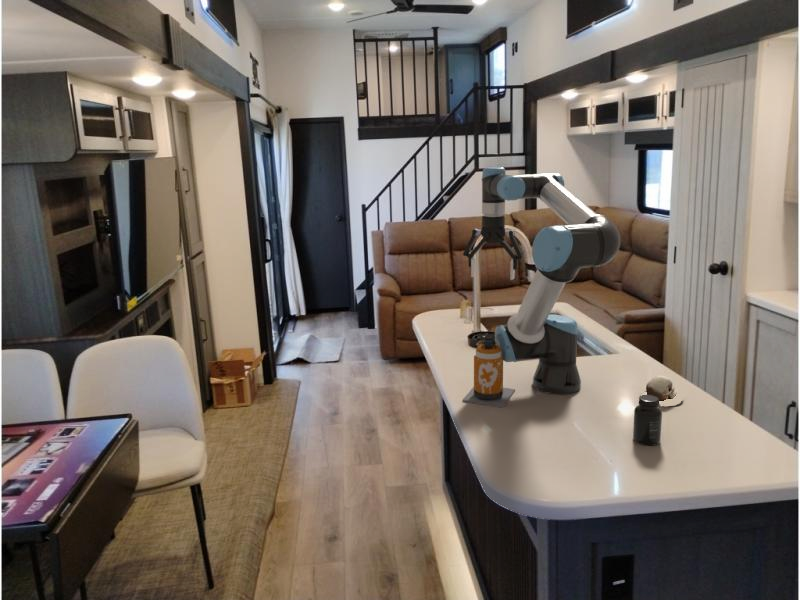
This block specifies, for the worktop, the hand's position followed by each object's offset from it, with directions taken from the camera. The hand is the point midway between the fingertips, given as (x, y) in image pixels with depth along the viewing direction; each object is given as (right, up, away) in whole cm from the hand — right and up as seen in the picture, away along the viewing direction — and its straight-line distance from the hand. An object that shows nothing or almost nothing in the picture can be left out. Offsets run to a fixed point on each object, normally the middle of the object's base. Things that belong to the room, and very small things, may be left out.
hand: (492, 277), depth 213 cm
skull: (+49, -38, -21) cm, 65 cm away
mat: (-3, -38, -15) cm, 41 cm away
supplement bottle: (+34, -45, -47) cm, 73 cm away
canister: (-4, -37, -16) cm, 41 cm away
